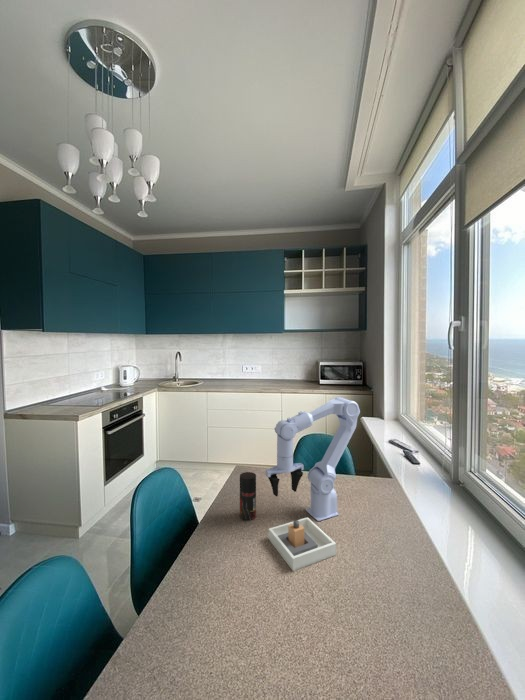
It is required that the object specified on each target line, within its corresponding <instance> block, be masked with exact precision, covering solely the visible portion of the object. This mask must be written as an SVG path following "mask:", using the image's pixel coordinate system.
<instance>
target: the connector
mask: <svg viewBox="0 0 525 700" xmlns="http://www.w3.org/2000/svg"><path fill="white" fill-rule="evenodd" d="M297 520H298V519H297ZM297 520H293V521H294V522H293V521H292V522H293V524H291V525H289V526H288V541H289V542H290V544H291V545H292V546H293V547H294V548H296V547H298V546H301V545H304V527H303V526H301V525H300V524H299V521H297Z"/></svg>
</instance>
